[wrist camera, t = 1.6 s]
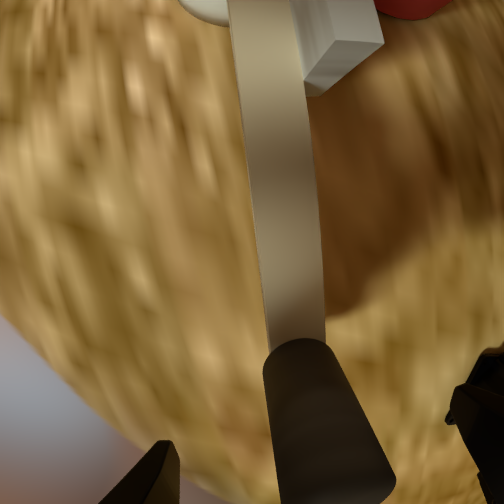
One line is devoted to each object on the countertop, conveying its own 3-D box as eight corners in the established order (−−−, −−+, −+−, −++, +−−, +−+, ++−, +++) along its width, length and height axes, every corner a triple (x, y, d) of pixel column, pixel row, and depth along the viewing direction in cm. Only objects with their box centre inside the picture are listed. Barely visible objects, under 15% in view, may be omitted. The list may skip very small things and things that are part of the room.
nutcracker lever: (200, -66, 9) (183, -191, 1) (283, -70, 9) (315, -191, 1) (254, 377, 14) (271, 541, 6) (336, 363, 15) (406, 509, 6)
